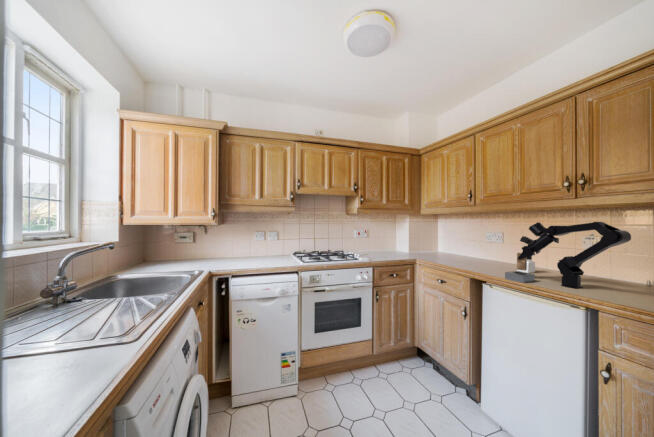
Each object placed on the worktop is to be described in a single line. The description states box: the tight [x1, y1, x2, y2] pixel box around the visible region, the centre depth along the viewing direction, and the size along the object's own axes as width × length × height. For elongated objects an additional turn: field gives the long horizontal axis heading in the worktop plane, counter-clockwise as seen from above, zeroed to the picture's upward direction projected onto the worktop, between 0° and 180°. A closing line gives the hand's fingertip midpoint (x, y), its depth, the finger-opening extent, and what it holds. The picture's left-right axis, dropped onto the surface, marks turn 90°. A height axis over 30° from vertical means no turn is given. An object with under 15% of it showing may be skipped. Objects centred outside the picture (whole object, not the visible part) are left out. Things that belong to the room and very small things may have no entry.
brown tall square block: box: [516, 252, 527, 271], centre depth 153 cm, size 4×4×10 cm
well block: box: [504, 270, 535, 284], centre depth 146 cm, size 10×10×4 cm
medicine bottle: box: [516, 256, 536, 274], centre depth 169 cm, size 7×7×12 cm
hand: (519, 258), depth 155 cm, fingers closed on brown tall square block, 4 cm apart
